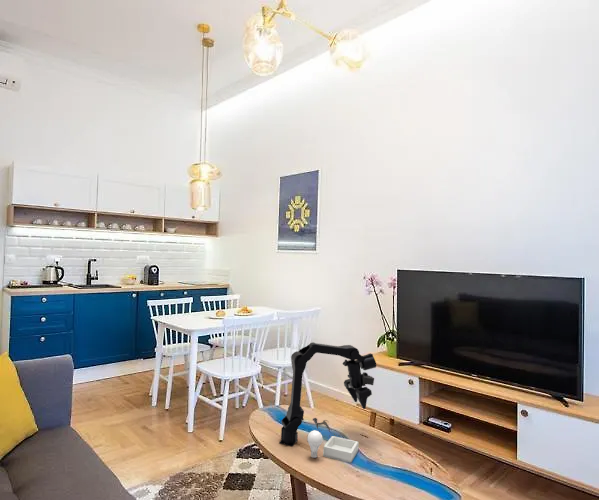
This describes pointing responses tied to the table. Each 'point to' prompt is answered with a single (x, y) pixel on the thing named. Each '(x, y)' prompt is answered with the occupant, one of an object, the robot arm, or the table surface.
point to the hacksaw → (321, 423)
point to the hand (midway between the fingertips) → (360, 405)
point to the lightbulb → (314, 442)
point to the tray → (340, 449)
